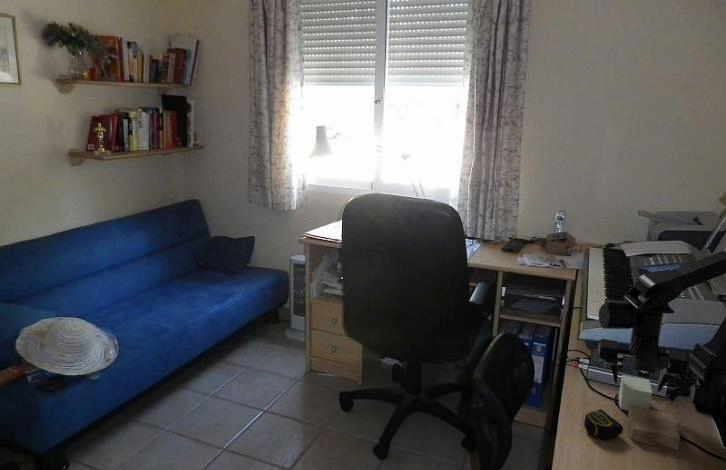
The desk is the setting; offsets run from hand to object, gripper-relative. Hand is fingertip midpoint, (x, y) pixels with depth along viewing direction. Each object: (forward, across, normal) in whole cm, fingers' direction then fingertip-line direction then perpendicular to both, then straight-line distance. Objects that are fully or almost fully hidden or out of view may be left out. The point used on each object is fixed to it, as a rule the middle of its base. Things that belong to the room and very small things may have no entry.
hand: (636, 386), depth 126 cm
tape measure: (+5, -8, -14) cm, 16 cm away
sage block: (+5, 0, 0) cm, 5 cm away
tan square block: (+5, +3, -10) cm, 12 cm away
